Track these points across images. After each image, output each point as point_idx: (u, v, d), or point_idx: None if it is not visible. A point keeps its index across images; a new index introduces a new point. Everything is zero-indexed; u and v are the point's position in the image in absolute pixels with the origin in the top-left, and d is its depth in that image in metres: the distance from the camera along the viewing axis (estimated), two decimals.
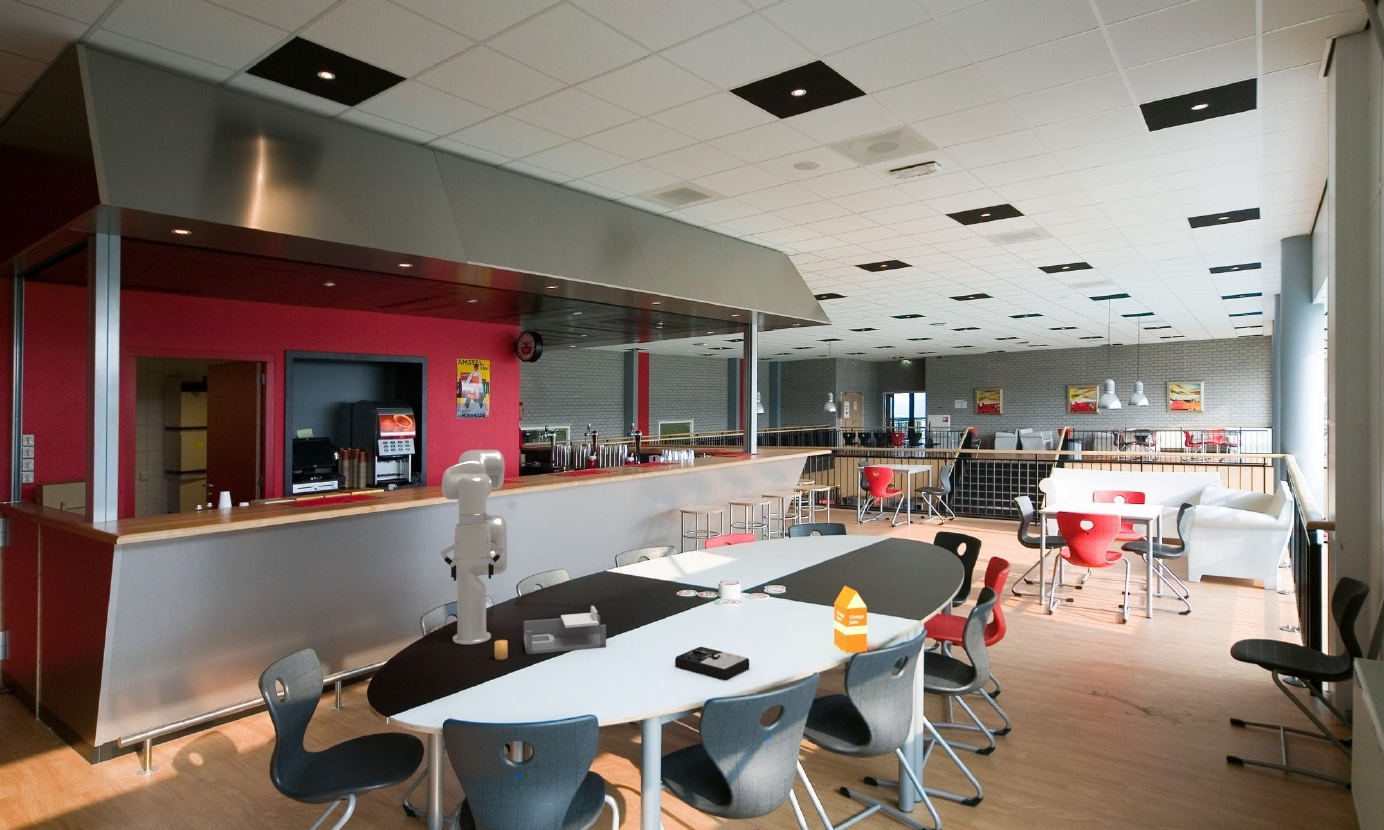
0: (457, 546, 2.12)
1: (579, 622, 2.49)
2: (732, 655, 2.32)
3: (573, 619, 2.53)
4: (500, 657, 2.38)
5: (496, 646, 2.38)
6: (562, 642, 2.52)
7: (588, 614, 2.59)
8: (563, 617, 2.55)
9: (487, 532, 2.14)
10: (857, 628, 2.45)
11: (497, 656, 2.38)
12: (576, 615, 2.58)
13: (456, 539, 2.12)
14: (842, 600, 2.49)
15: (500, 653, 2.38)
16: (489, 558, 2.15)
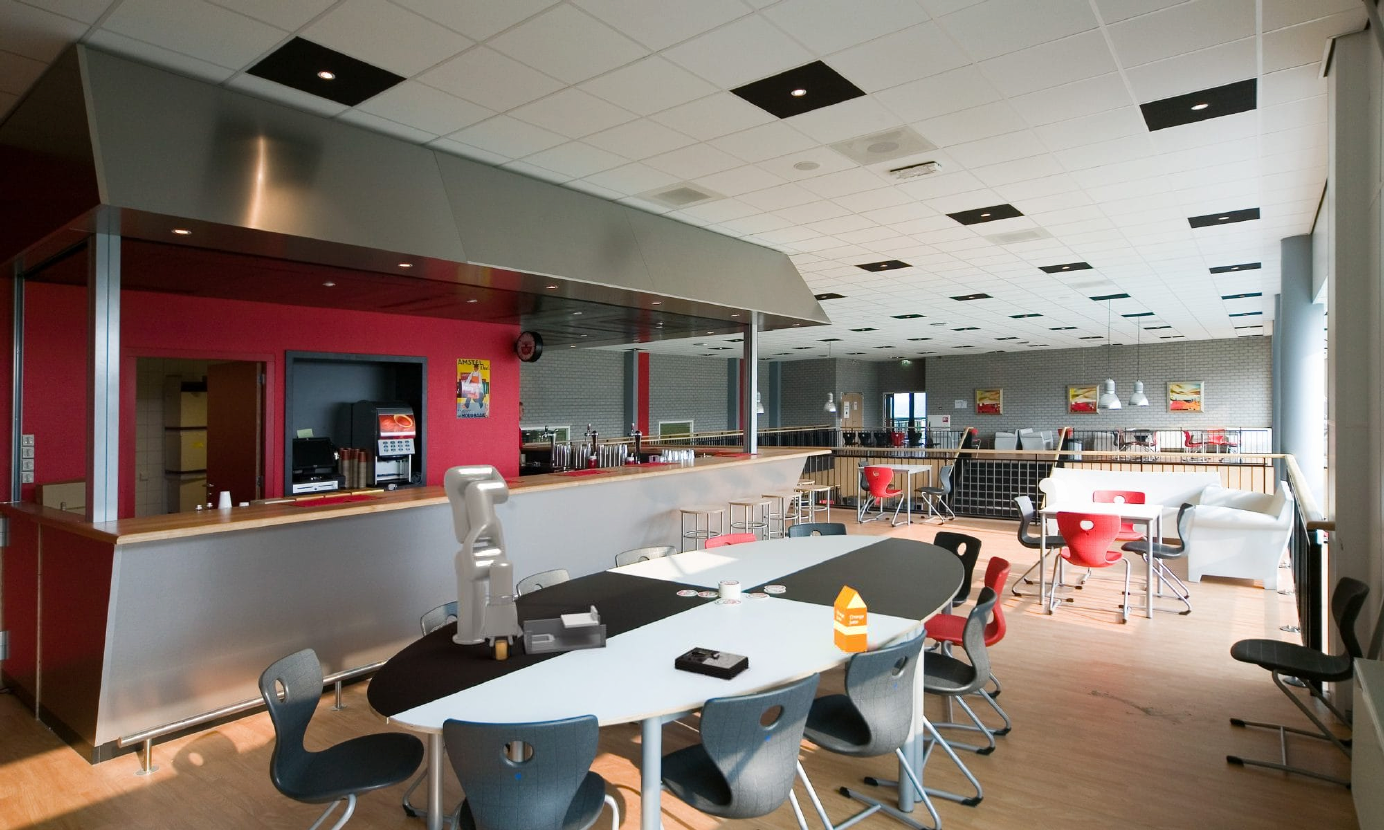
0: (488, 625, 2.36)
1: (579, 622, 2.49)
2: (731, 654, 2.32)
3: (573, 619, 2.53)
4: (500, 657, 2.38)
5: (496, 646, 2.38)
6: (562, 642, 2.52)
7: (588, 614, 2.59)
8: (563, 617, 2.55)
9: (514, 611, 2.39)
10: (857, 628, 2.45)
11: (497, 656, 2.38)
12: (576, 615, 2.58)
13: (487, 618, 2.36)
14: (842, 600, 2.49)
15: (500, 653, 2.38)
16: (510, 638, 2.39)
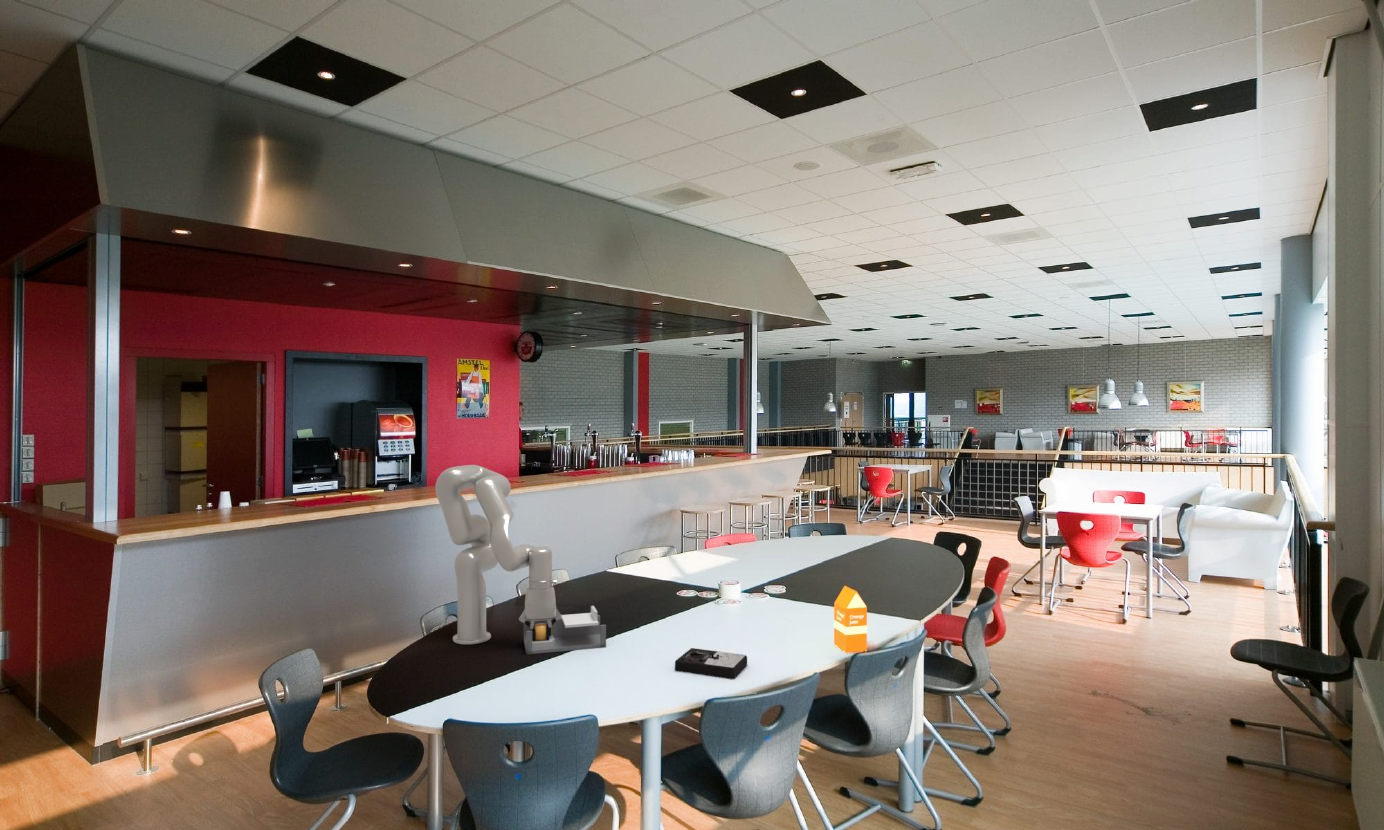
0: (528, 608, 2.47)
1: (579, 622, 2.49)
2: (729, 653, 2.33)
3: (573, 619, 2.53)
4: (540, 639, 2.48)
5: (536, 629, 2.48)
6: (562, 642, 2.52)
7: (588, 614, 2.59)
8: (563, 617, 2.55)
9: (553, 595, 2.49)
10: (857, 628, 2.45)
11: (537, 638, 2.48)
12: (576, 615, 2.58)
13: (527, 602, 2.47)
14: (842, 600, 2.49)
15: (540, 636, 2.48)
16: (549, 621, 2.49)
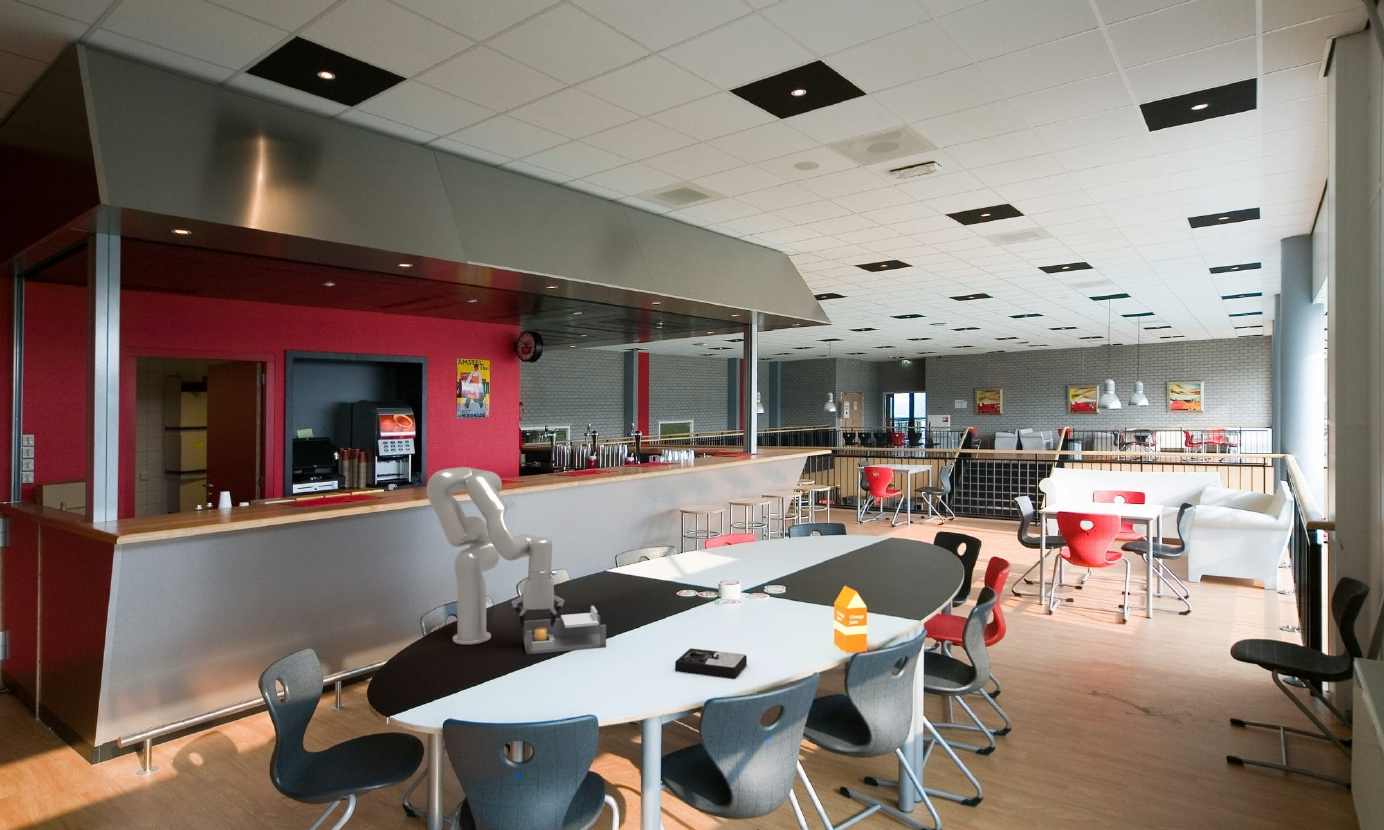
0: (526, 598, 2.47)
1: (579, 622, 2.49)
2: (728, 653, 2.33)
3: (573, 619, 2.53)
4: None
5: (536, 633, 2.48)
6: (562, 642, 2.52)
7: (588, 614, 2.59)
8: (563, 617, 2.55)
9: (552, 586, 2.49)
10: (857, 628, 2.45)
11: None
12: (576, 615, 2.58)
13: (526, 592, 2.47)
14: (842, 600, 2.49)
15: (540, 640, 2.48)
16: (552, 608, 2.50)
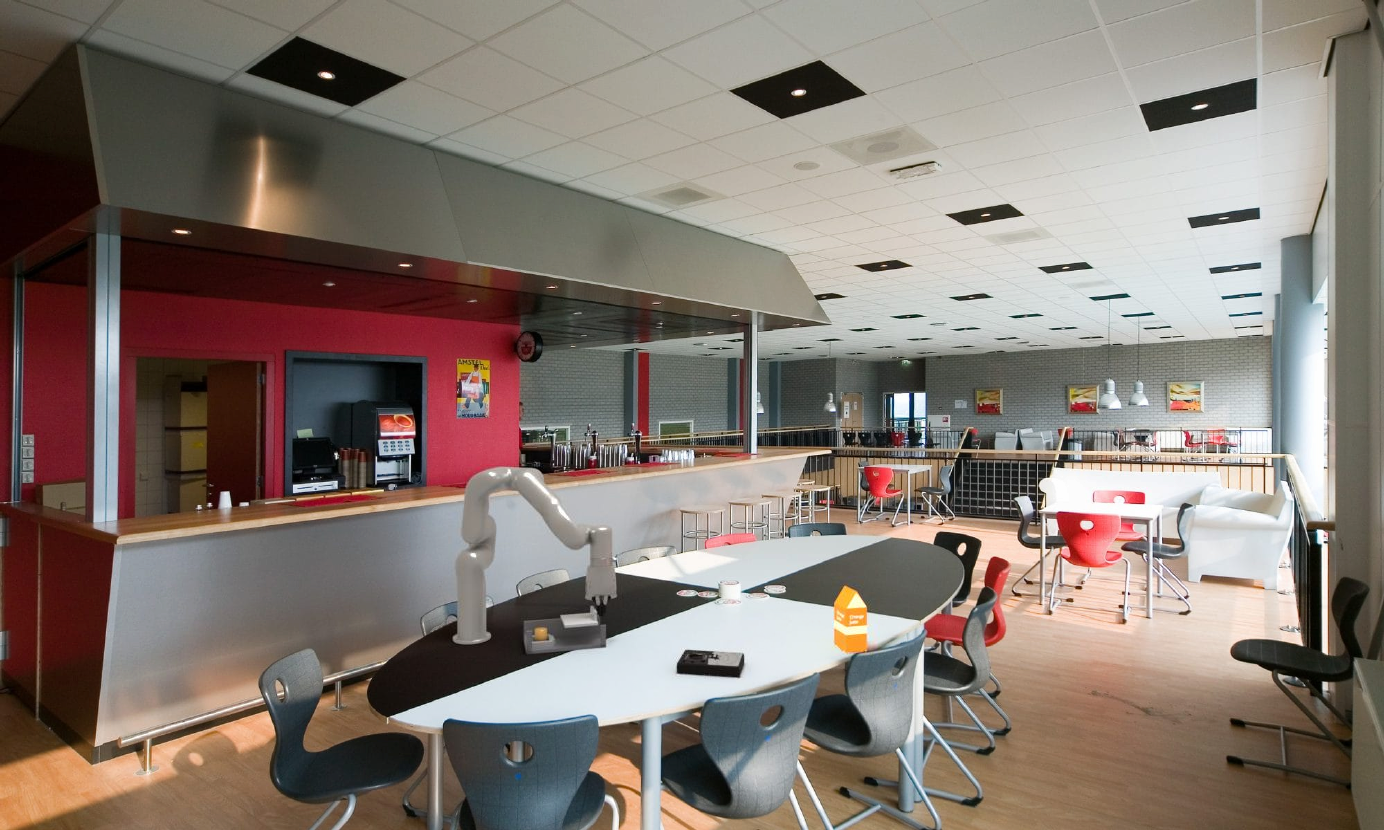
0: (590, 585, 2.52)
1: (579, 622, 2.49)
2: (726, 653, 2.34)
3: (573, 619, 2.53)
4: None
5: (536, 633, 2.48)
6: (562, 642, 2.52)
7: (588, 614, 2.59)
8: (563, 617, 2.55)
9: (614, 573, 2.55)
10: (857, 628, 2.45)
11: None
12: (576, 615, 2.58)
13: (589, 579, 2.52)
14: (842, 600, 2.49)
15: (540, 640, 2.48)
16: (606, 598, 2.55)
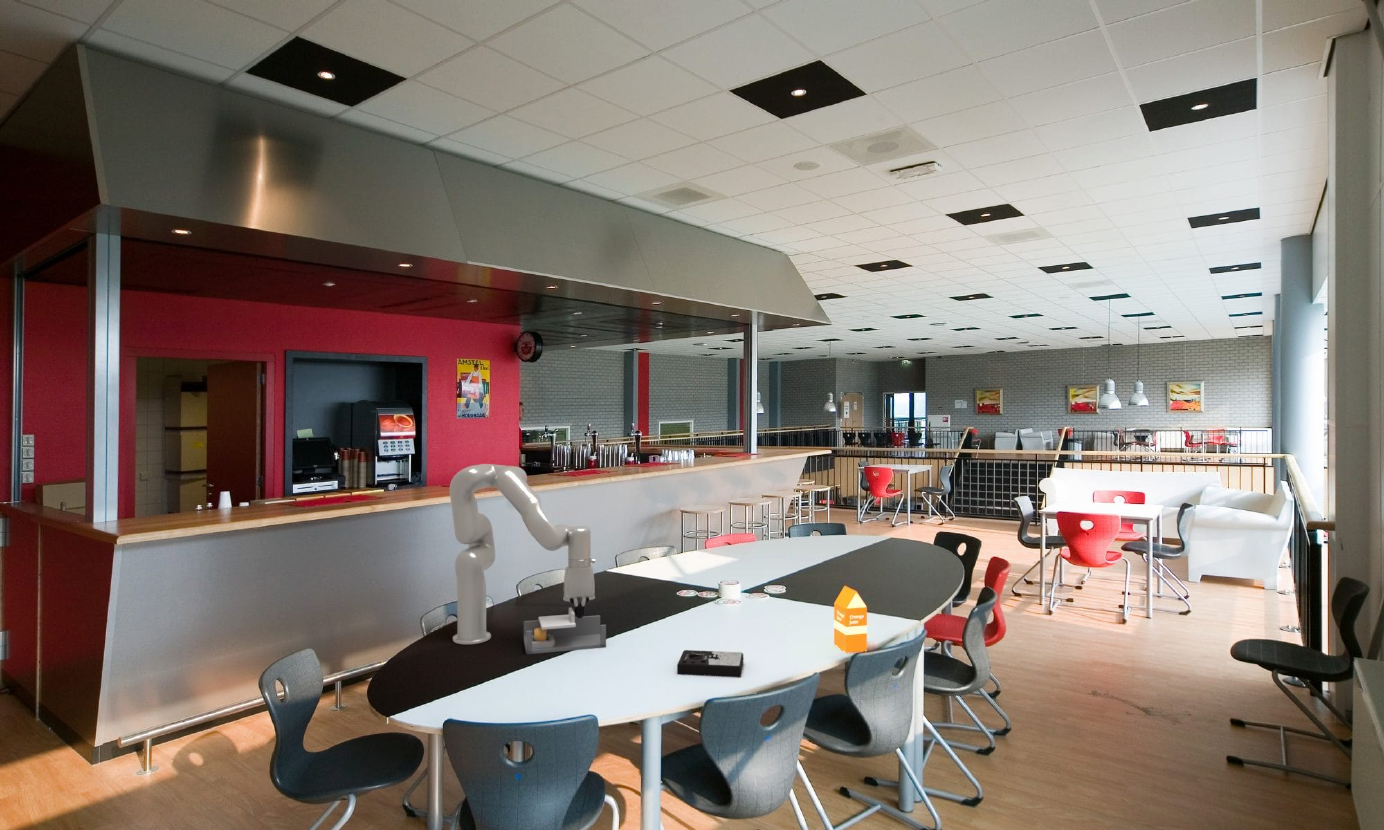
0: (568, 586, 2.50)
1: (556, 624, 2.47)
2: (725, 652, 2.34)
3: (550, 621, 2.51)
4: None
5: (535, 633, 2.48)
6: (562, 642, 2.52)
7: (566, 616, 2.57)
8: (540, 619, 2.53)
9: (592, 574, 2.53)
10: (857, 628, 2.45)
11: None
12: (554, 616, 2.56)
13: (567, 580, 2.50)
14: (842, 600, 2.49)
15: (539, 640, 2.48)
16: (584, 599, 2.53)
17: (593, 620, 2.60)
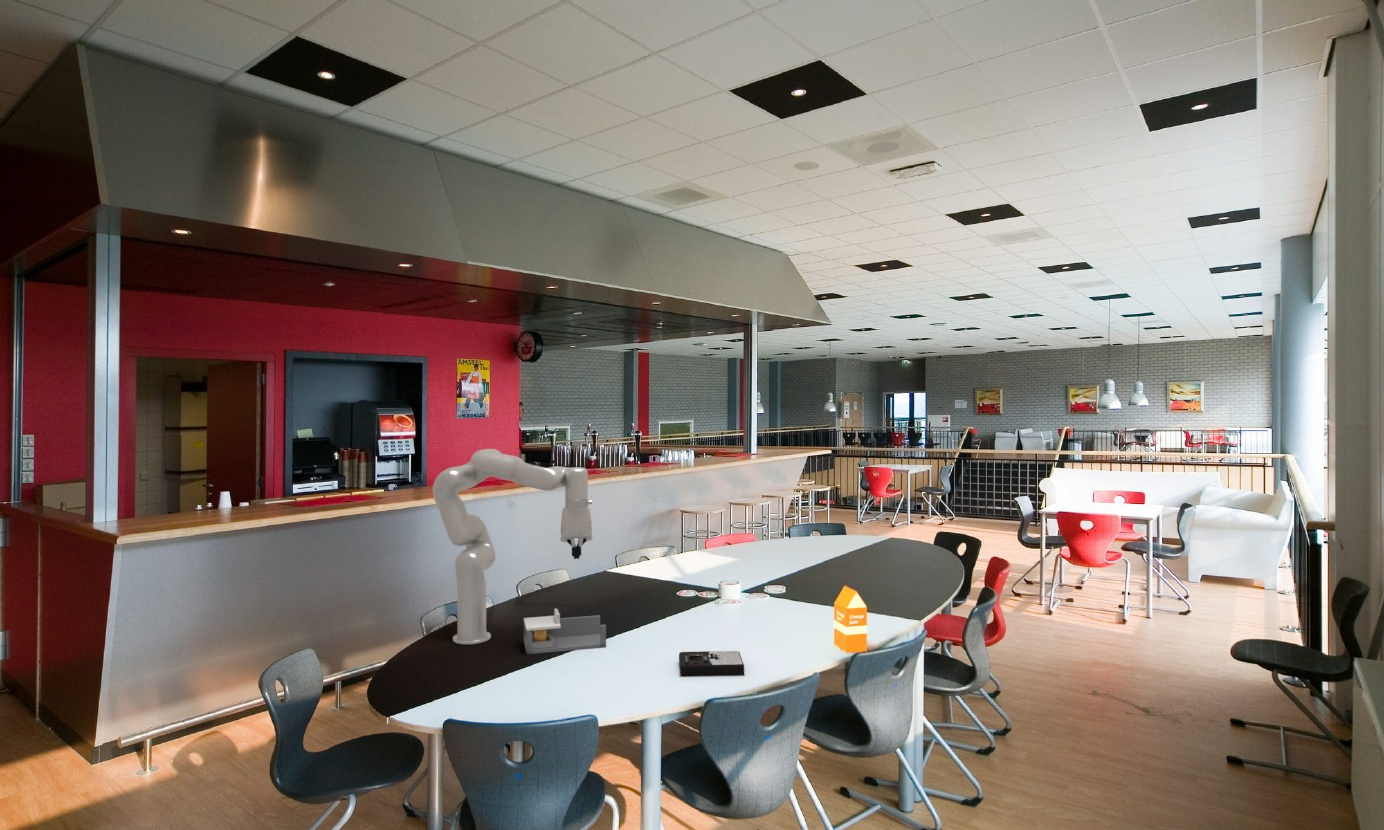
0: (565, 526, 2.50)
1: (541, 625, 2.46)
2: (722, 652, 2.35)
3: (535, 622, 2.49)
4: None
5: (534, 632, 2.49)
6: (562, 642, 2.52)
7: (551, 617, 2.55)
8: (526, 620, 2.52)
9: (589, 515, 2.52)
10: (857, 628, 2.45)
11: None
12: (539, 617, 2.54)
13: (564, 520, 2.50)
14: (842, 600, 2.49)
15: (538, 639, 2.48)
16: (581, 540, 2.52)
17: (593, 620, 2.60)
